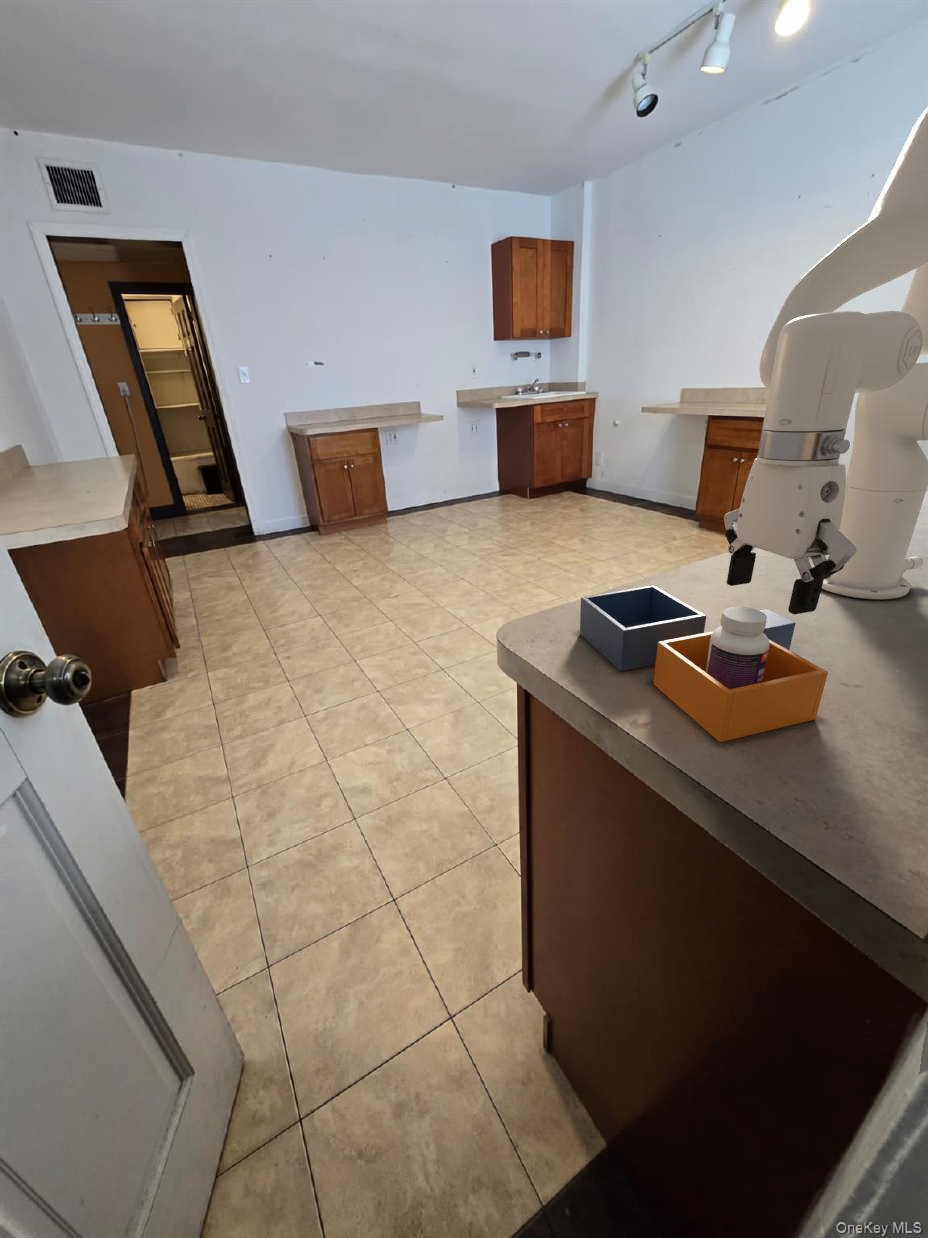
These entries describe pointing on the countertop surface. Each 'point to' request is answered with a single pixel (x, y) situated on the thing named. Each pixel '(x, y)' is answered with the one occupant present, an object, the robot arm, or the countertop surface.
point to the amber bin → (738, 689)
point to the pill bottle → (738, 648)
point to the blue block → (778, 629)
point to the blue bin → (636, 624)
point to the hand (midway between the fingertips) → (767, 596)
